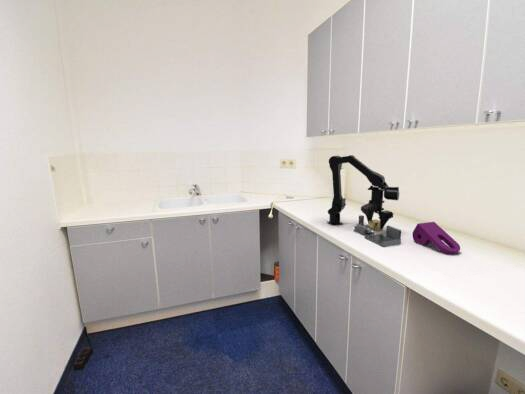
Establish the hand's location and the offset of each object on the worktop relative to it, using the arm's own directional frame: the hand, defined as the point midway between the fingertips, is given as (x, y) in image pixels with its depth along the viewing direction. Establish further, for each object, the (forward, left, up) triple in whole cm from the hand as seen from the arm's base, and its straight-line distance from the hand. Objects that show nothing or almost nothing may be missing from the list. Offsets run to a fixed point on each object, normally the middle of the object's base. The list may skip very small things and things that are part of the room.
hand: (375, 226), depth 146 cm
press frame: (+10, -8, -2) cm, 13 cm away
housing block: (0, 0, -2) cm, 2 cm away
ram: (+3, -9, 0) cm, 10 cm away
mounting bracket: (+30, +8, -2) cm, 31 cm away
